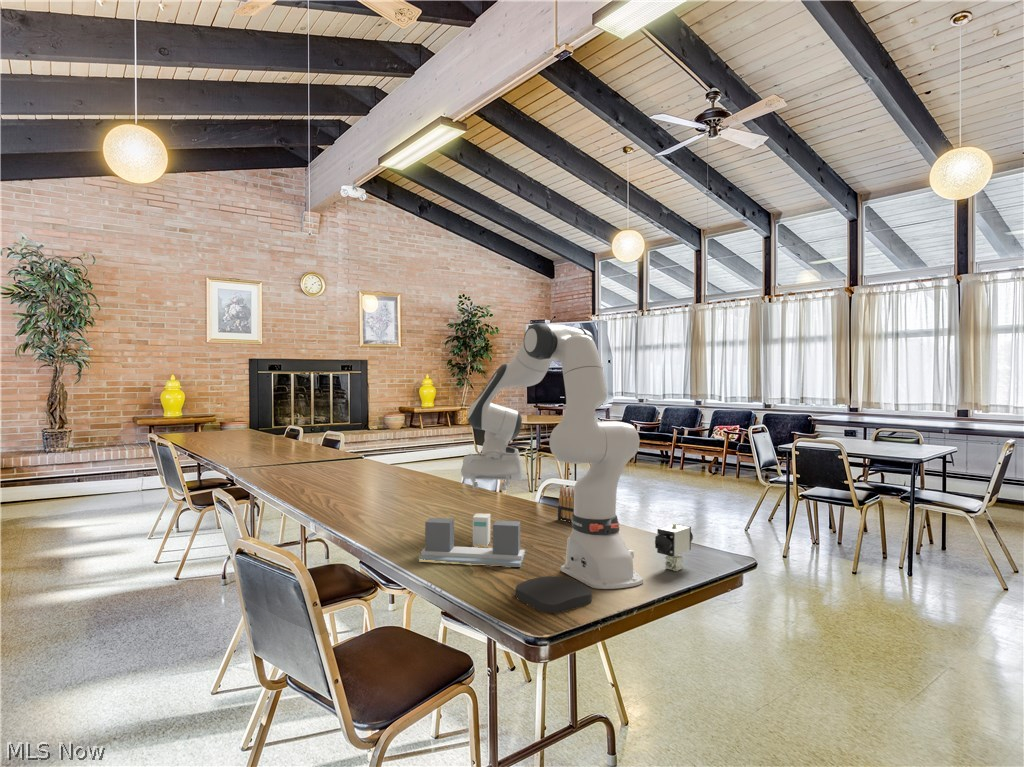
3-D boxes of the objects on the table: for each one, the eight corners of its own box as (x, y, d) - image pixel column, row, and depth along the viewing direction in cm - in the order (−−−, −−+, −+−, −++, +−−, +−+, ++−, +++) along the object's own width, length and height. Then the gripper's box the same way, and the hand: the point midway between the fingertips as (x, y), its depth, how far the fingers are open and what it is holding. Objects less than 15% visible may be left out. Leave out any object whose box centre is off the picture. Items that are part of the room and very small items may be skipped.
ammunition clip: (557, 519, 200) (557, 486, 200) (560, 518, 202) (560, 485, 202) (581, 525, 193) (581, 490, 193) (584, 524, 194) (584, 489, 194)
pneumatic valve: (693, 566, 150) (693, 521, 150) (670, 576, 142) (670, 529, 142) (674, 561, 154) (675, 518, 154) (651, 570, 146) (651, 525, 146)
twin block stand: (520, 567, 147) (520, 529, 147) (417, 562, 151) (418, 525, 151) (525, 554, 159) (525, 518, 159) (430, 549, 163) (430, 514, 163)
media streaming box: (548, 618, 116) (549, 604, 116) (508, 596, 128) (508, 583, 128) (599, 602, 125) (599, 589, 125) (556, 583, 137) (556, 571, 137)
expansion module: (487, 548, 165) (487, 517, 165) (472, 547, 165) (472, 517, 165) (490, 543, 170) (490, 513, 170) (475, 542, 171) (476, 513, 171)
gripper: (463, 448, 189) (456, 481, 179) (522, 449, 186) (519, 483, 176) (465, 459, 193) (459, 493, 183) (524, 461, 190) (520, 495, 181)
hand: (489, 488), depth 180 cm, fingers open, 8 cm apart
